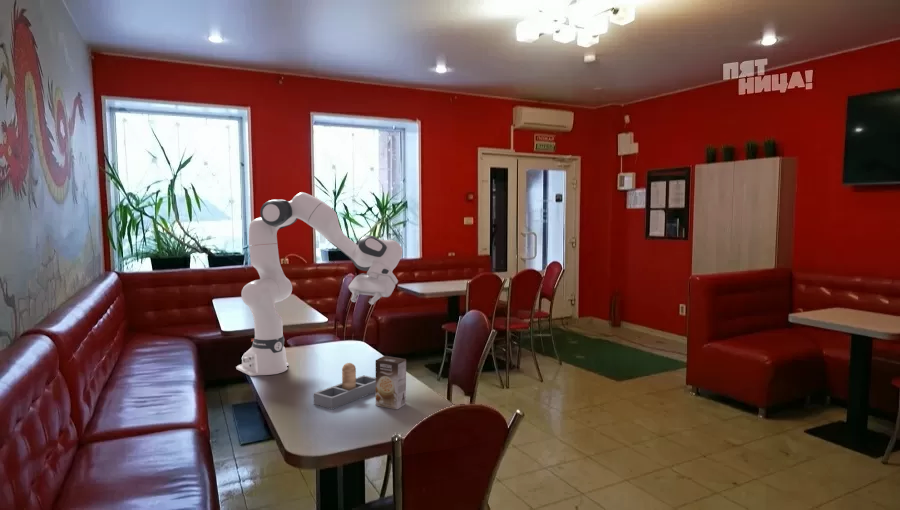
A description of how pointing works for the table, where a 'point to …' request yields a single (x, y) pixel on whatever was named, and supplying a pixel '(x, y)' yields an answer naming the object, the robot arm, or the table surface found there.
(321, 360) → the table surface
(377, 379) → the coffee box
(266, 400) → the table surface
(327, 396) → the grey compartment tray
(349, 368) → the tan domed cylinder
